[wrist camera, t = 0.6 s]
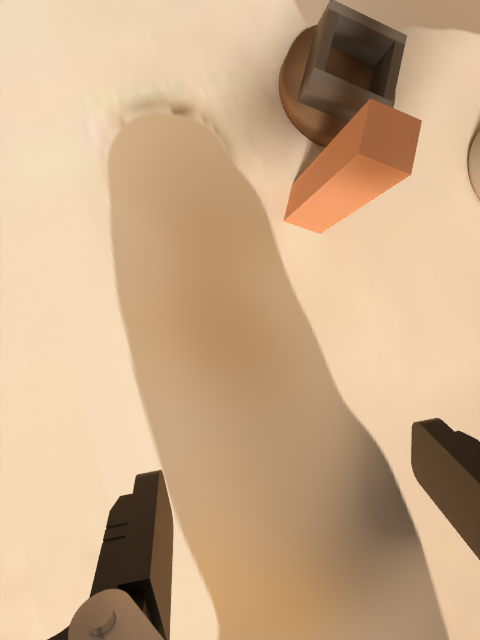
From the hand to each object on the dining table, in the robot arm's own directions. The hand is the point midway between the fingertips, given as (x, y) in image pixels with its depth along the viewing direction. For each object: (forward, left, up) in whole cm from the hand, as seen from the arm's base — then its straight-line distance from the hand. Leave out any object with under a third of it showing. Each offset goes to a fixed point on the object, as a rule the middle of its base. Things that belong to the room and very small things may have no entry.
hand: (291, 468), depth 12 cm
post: (-12, +17, -24) cm, 32 cm away
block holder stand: (-22, +25, -24) cm, 41 cm away
